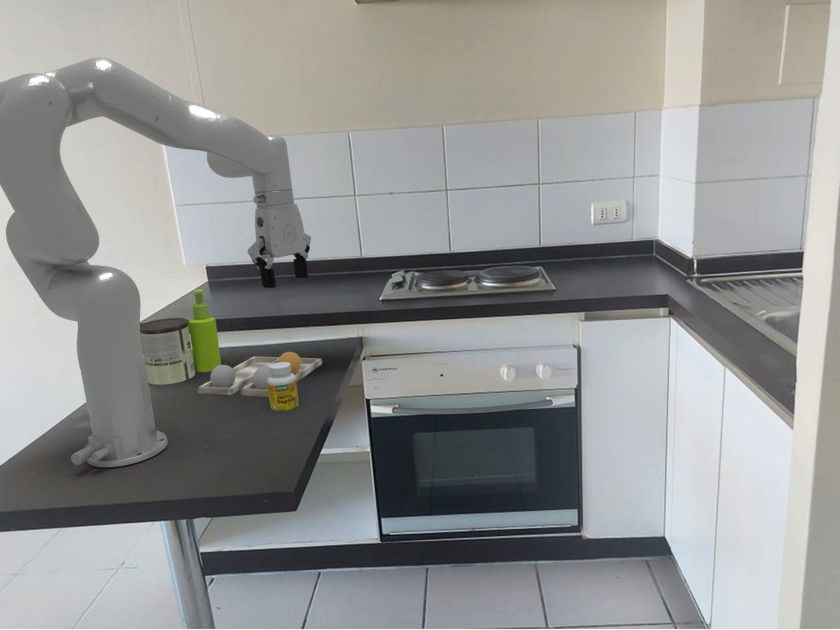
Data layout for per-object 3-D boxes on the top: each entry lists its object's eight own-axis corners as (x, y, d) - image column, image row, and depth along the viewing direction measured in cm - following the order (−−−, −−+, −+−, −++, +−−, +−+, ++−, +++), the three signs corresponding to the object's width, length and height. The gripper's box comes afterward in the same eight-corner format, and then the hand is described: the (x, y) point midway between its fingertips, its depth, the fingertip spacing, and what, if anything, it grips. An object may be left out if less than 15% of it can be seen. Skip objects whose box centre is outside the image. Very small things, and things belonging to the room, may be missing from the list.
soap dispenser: (221, 367, 150) (211, 286, 146) (222, 375, 143) (212, 290, 139) (195, 371, 148) (184, 289, 144) (195, 379, 142) (184, 293, 137)
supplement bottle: (293, 405, 122) (288, 358, 120) (304, 413, 117) (299, 365, 115) (267, 412, 119) (261, 364, 117) (276, 420, 114) (271, 371, 112)
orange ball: (295, 377, 134) (293, 355, 133) (275, 377, 135) (272, 355, 134) (306, 370, 138) (303, 349, 137) (286, 370, 140) (283, 348, 139)
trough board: (276, 406, 122) (275, 393, 121) (193, 401, 127) (192, 389, 127) (326, 368, 144) (325, 357, 144) (254, 365, 150) (253, 355, 149)
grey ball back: (228, 392, 127) (225, 369, 126) (207, 391, 128) (203, 368, 127) (241, 384, 131) (238, 362, 130) (220, 383, 133) (217, 361, 132)
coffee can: (145, 382, 142) (135, 322, 139) (191, 373, 147) (183, 315, 144) (151, 394, 133) (141, 331, 130) (200, 384, 138) (192, 323, 135)
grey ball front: (271, 394, 124) (269, 371, 123) (249, 393, 125) (246, 370, 124) (283, 386, 129) (281, 363, 128) (262, 385, 130) (259, 362, 129)
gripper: (256, 204, 116) (269, 292, 120) (317, 194, 130) (326, 274, 135) (229, 205, 120) (242, 290, 124) (290, 196, 134) (300, 273, 138)
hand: (286, 282), depth 129 cm, fingers open, 9 cm apart
